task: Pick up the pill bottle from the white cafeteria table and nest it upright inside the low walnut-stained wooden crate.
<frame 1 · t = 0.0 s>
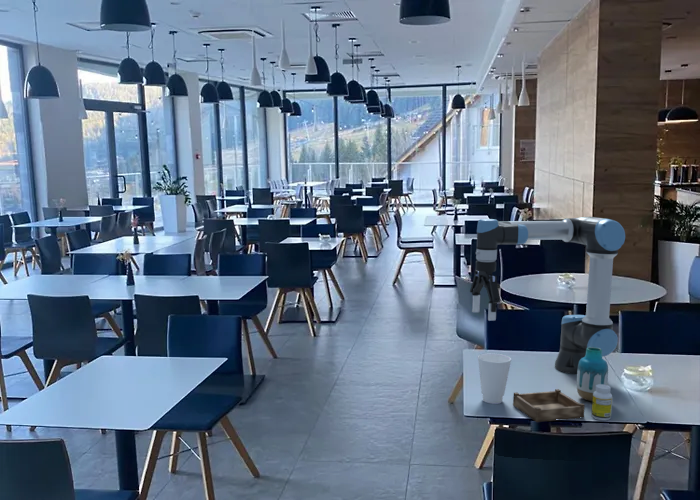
hand: (483, 316, 251), 28 cm above the table, fingers open, 13 cm apart
vase: (590, 400, 244), on the table
crate: (547, 411, 232), on the table
cup: (492, 400, 242), on the table
pill bottle: (601, 418, 227), on the table
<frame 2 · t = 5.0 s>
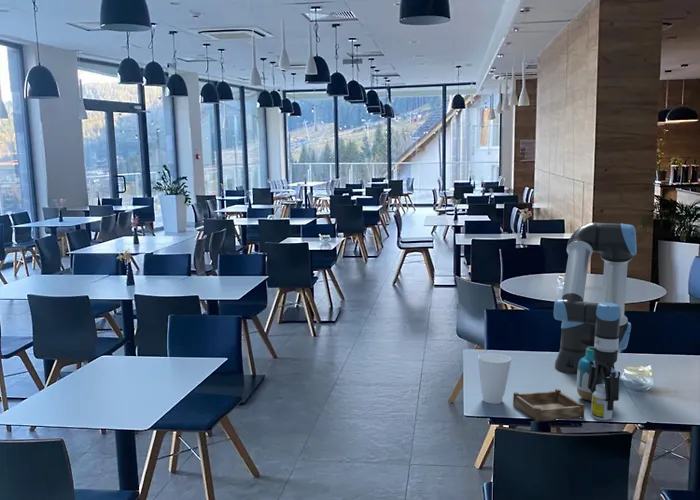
hand: (601, 414, 227), 1 cm above the table, fingers closed on pill bottle, 6 cm apart
pill bottle: (601, 418, 227), on the table, touching gripper
everything else where it was.
when the fingers open (3 cm above the table, at t = 10.6 s): pill bottle drops 2 cm, resting on crate.
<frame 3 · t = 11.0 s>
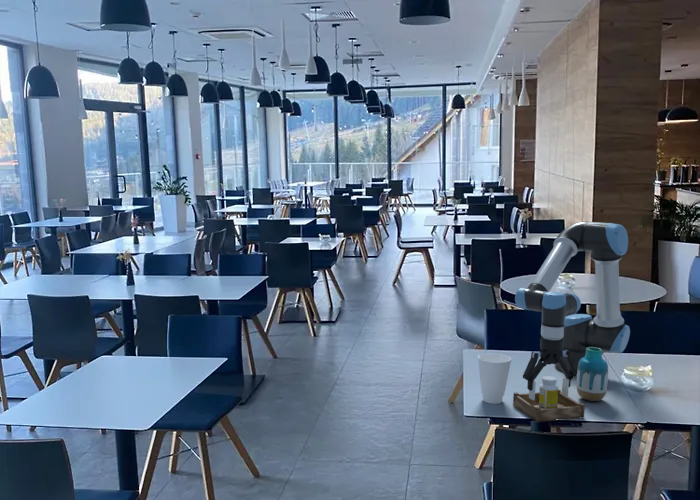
hand: (548, 397, 231), 5 cm above the table, fingers open, 12 cm apart
pill bottle: (547, 409, 232), point 1 cm above the table, touching crate
everything else where it was.
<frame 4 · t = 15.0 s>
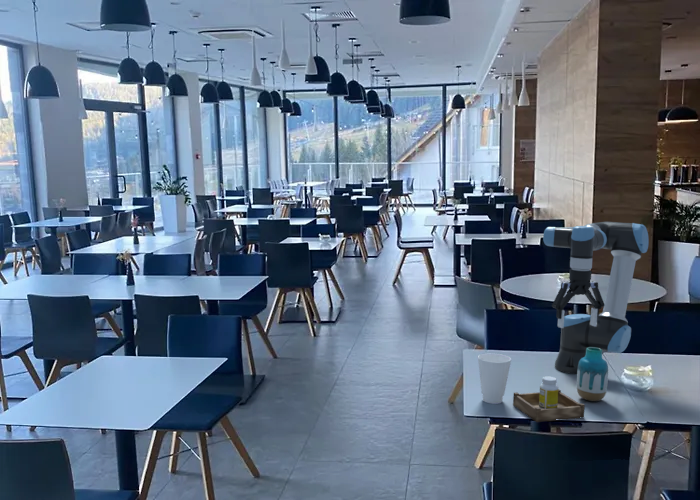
hand: (577, 326, 243), 27 cm above the table, fingers open, 13 cm apart
nothing on the table moved.
at the end: pill bottle inside the target area on the crate (0.1 cm from its centre), point 0.6 cm above the crate's base; pill bottle tilted 0°; the gripper is holding nothing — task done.
